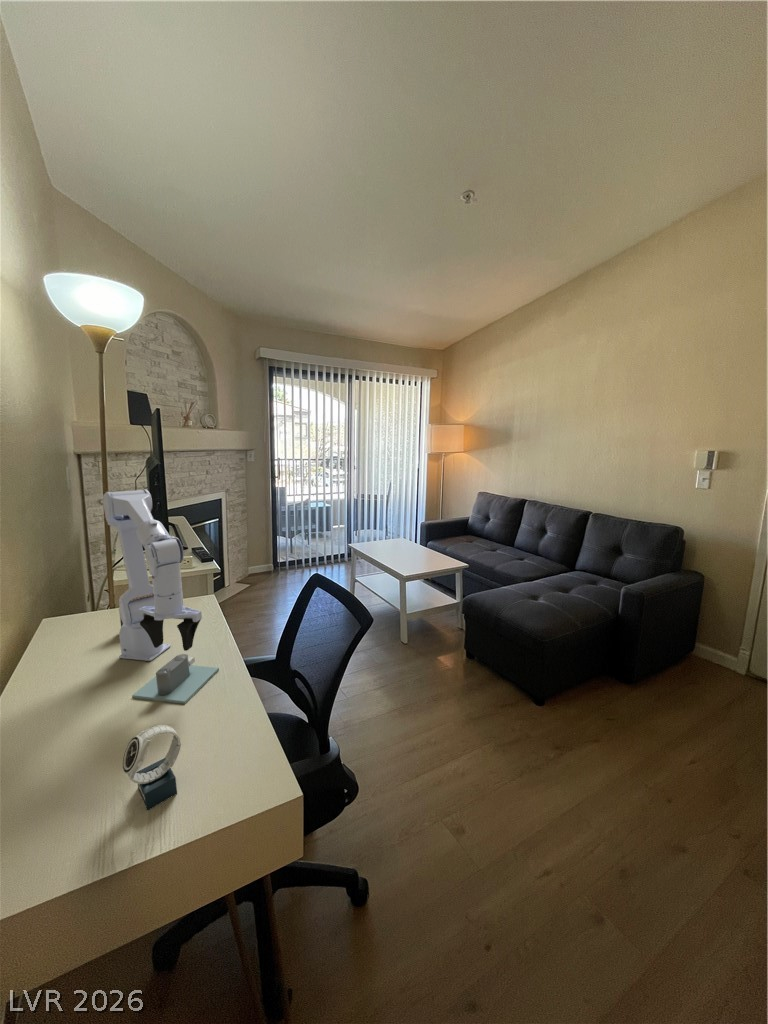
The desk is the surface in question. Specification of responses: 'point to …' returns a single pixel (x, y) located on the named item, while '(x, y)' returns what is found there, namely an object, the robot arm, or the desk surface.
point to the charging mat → (184, 690)
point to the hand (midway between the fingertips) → (173, 647)
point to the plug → (173, 674)
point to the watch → (152, 766)
